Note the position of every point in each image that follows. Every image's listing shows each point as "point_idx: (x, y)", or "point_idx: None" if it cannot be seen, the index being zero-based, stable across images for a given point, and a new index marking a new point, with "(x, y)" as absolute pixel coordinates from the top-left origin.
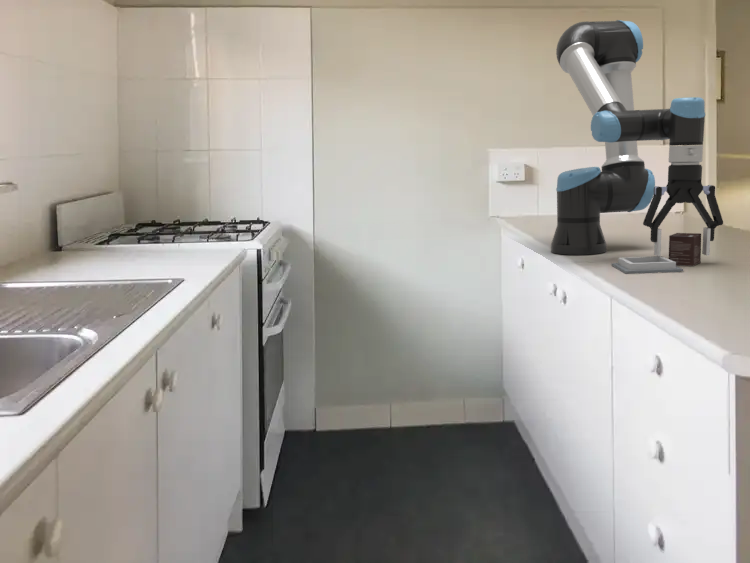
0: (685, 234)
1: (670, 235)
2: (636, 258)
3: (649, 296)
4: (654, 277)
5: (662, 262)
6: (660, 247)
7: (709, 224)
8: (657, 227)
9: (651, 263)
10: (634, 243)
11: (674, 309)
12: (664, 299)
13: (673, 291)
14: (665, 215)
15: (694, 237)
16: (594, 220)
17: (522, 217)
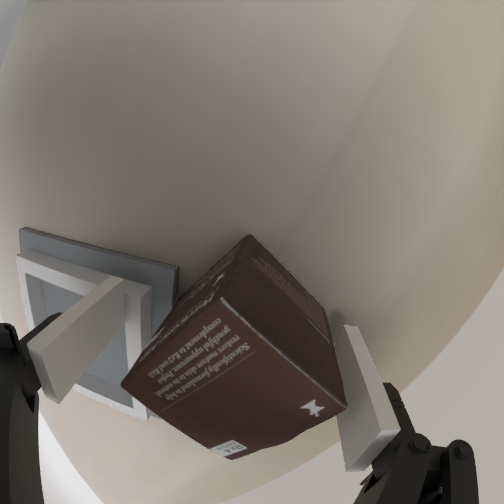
0: (229, 405)
1: (125, 389)
2: (56, 283)
3: (86, 473)
4: (97, 421)
5: (111, 405)
6: (105, 345)
7: (363, 489)
8: (35, 399)
9: (85, 393)
10: None
11: (106, 498)
12: (100, 485)
13: (114, 479)
14: (34, 472)
15: (235, 457)
16: None
17: None
